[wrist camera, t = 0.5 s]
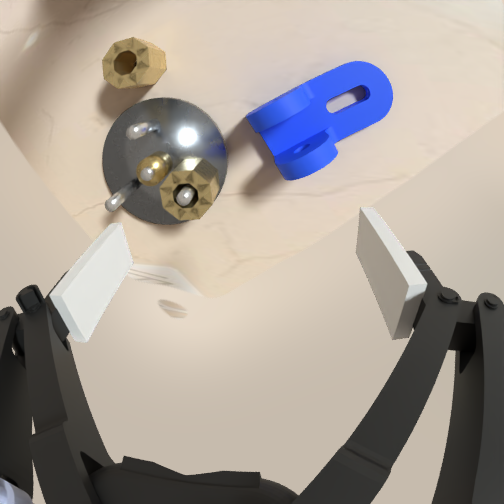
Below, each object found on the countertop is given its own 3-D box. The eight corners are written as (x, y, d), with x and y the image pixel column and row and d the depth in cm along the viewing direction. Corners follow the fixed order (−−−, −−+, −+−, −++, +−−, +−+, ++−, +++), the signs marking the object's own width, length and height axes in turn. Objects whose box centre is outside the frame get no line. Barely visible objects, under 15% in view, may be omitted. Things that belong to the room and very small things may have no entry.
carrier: (97, 111, 34) (64, 119, 27) (222, 88, 33) (210, 88, 26) (120, 224, 43) (96, 251, 36) (233, 217, 42) (226, 246, 35)
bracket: (281, 166, 38) (286, 187, 30) (248, 113, 35) (243, 119, 27) (396, 108, 33) (428, 116, 25) (368, 53, 29) (396, 46, 21)
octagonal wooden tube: (123, 50, 30) (101, 47, 24) (164, 40, 29) (147, 33, 24) (126, 90, 33) (105, 92, 28) (167, 81, 32) (151, 81, 27)
